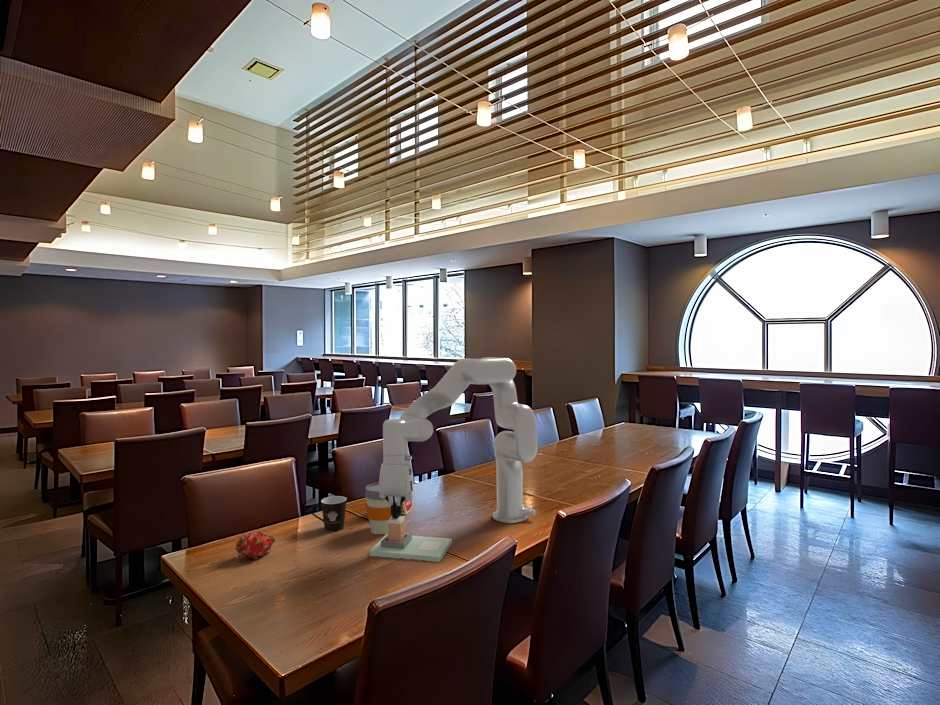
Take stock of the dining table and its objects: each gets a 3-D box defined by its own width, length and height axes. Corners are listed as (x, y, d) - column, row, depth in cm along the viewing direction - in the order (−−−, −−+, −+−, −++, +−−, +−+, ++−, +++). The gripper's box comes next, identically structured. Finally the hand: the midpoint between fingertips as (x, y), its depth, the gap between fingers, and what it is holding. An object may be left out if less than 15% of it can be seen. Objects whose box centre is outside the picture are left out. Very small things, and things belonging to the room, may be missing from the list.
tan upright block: (405, 541, 160) (404, 516, 160) (400, 546, 156) (400, 520, 156) (393, 540, 161) (392, 515, 160) (388, 545, 157) (388, 519, 156)
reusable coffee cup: (371, 539, 166) (370, 493, 165) (361, 527, 177) (360, 484, 176) (407, 532, 171) (406, 488, 171) (395, 520, 182) (394, 479, 182)
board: (451, 543, 162) (451, 533, 162) (439, 562, 148) (439, 550, 148) (387, 538, 166) (387, 528, 166) (369, 555, 153) (369, 545, 153)
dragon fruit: (231, 567, 149) (271, 561, 157) (241, 557, 144) (282, 551, 153) (228, 539, 153) (268, 534, 161) (239, 528, 149) (278, 524, 157)
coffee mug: (351, 525, 178) (351, 497, 178) (337, 534, 170) (337, 504, 170) (323, 521, 182) (323, 494, 182) (308, 530, 174) (308, 501, 174)
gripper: (422, 457, 160) (422, 514, 160) (377, 455, 163) (378, 511, 163) (414, 462, 152) (415, 523, 153) (368, 460, 156) (369, 519, 156)
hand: (396, 517), depth 158 cm, fingers closed
